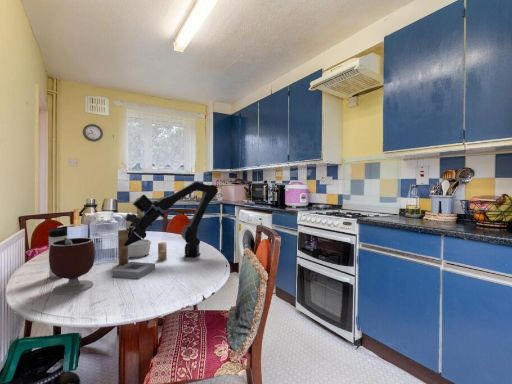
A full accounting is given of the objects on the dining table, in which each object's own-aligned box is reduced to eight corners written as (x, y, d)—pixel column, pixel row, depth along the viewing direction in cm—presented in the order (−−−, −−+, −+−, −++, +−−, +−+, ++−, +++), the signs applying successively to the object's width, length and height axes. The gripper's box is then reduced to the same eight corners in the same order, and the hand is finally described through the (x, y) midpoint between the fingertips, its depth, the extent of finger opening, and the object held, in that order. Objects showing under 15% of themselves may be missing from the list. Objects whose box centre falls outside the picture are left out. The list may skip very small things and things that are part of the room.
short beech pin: (168, 258, 140) (167, 242, 139) (164, 260, 136) (163, 244, 135) (160, 257, 140) (160, 242, 140) (156, 259, 137) (156, 243, 136)
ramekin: (155, 251, 152) (155, 239, 152) (143, 258, 139) (143, 244, 139) (132, 251, 153) (132, 238, 153) (118, 257, 140) (118, 244, 140)
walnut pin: (130, 263, 130) (129, 229, 130) (124, 266, 126) (123, 231, 126) (122, 263, 131) (121, 229, 130) (116, 265, 127) (116, 230, 127)
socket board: (155, 269, 122) (155, 263, 122) (138, 278, 111) (138, 272, 111) (130, 267, 125) (130, 261, 125) (112, 276, 113) (112, 270, 113)
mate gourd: (56, 283, 105) (55, 231, 104) (98, 279, 110) (97, 229, 109) (42, 300, 90) (40, 239, 90) (90, 294, 95) (89, 236, 94)
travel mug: (73, 274, 115) (71, 226, 114) (57, 279, 109) (55, 229, 108) (62, 272, 117) (61, 225, 116) (45, 278, 111) (44, 228, 110)
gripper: (133, 205, 139) (109, 229, 134) (138, 209, 122) (110, 236, 117) (150, 220, 143) (127, 243, 138) (157, 225, 126) (130, 252, 122)
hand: (123, 243), depth 128 cm, fingers open, 9 cm apart
